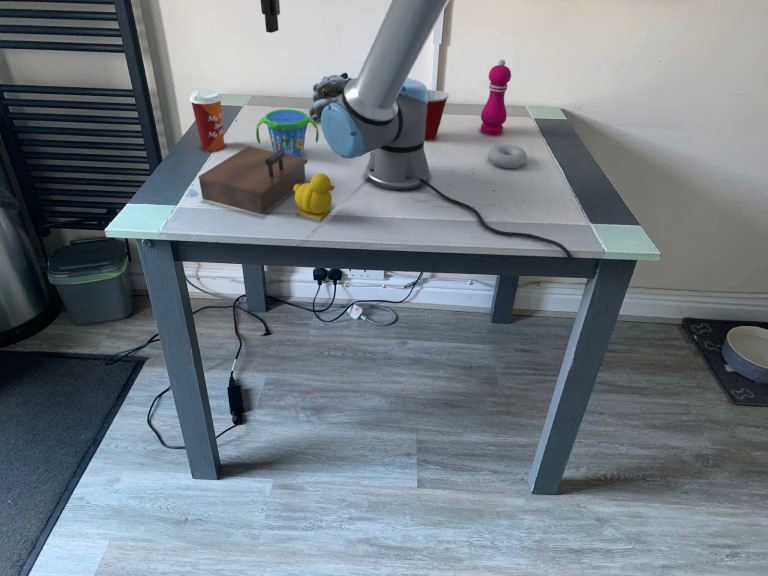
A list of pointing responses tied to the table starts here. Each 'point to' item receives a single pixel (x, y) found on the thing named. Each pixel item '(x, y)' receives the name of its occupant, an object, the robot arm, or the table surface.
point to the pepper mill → (496, 100)
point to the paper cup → (208, 118)
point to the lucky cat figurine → (327, 93)
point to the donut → (507, 156)
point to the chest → (251, 194)
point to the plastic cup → (434, 112)
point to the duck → (314, 196)
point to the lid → (254, 170)
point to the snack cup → (287, 130)
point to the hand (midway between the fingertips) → (272, 31)
